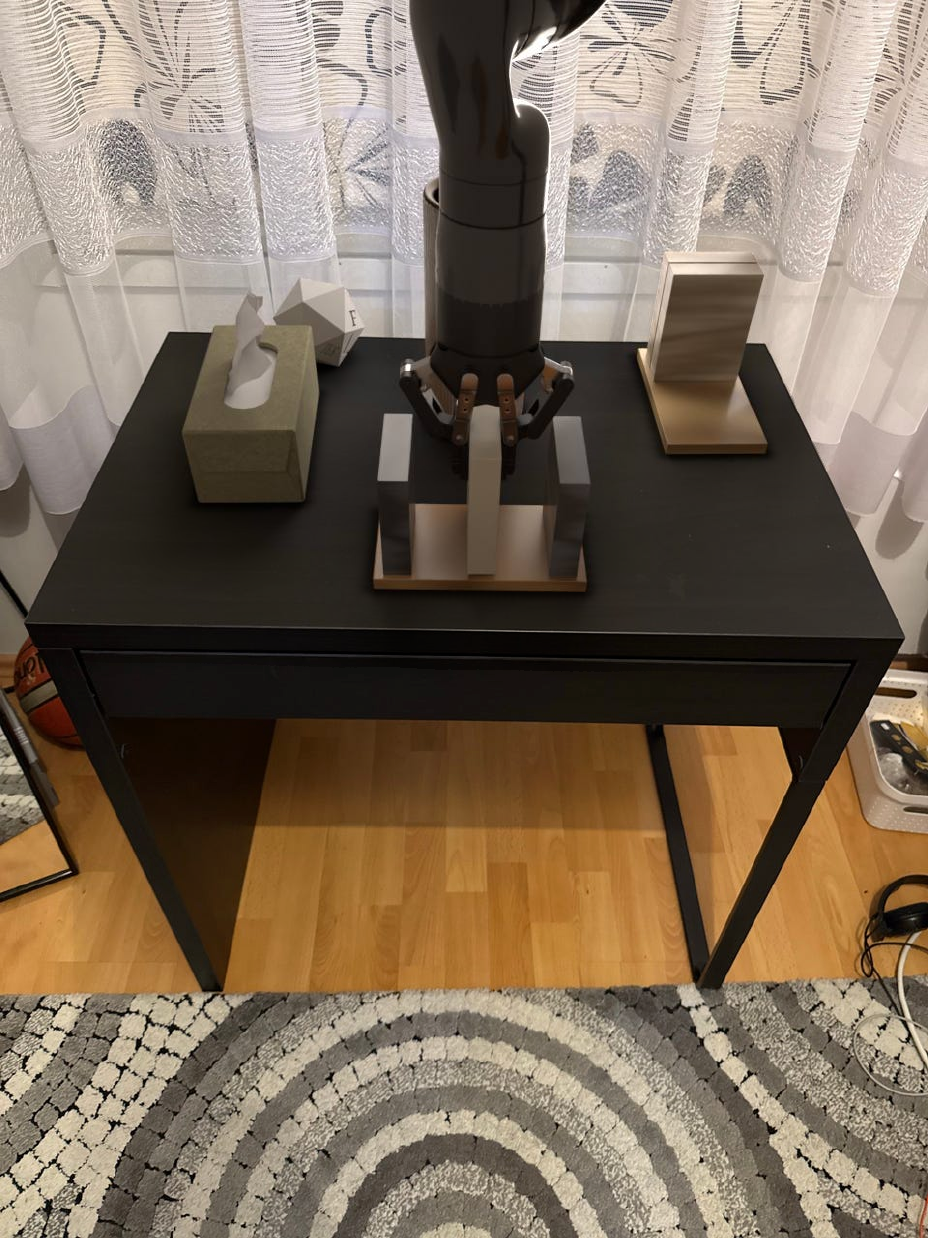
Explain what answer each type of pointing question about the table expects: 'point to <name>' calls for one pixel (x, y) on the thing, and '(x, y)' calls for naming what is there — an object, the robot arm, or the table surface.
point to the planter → (430, 293)
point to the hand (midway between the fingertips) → (483, 474)
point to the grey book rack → (437, 533)
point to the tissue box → (253, 411)
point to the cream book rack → (703, 353)
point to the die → (323, 317)
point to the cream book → (483, 490)
